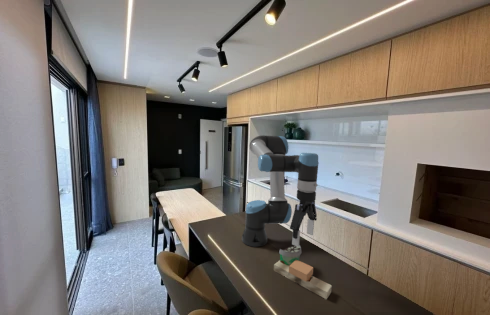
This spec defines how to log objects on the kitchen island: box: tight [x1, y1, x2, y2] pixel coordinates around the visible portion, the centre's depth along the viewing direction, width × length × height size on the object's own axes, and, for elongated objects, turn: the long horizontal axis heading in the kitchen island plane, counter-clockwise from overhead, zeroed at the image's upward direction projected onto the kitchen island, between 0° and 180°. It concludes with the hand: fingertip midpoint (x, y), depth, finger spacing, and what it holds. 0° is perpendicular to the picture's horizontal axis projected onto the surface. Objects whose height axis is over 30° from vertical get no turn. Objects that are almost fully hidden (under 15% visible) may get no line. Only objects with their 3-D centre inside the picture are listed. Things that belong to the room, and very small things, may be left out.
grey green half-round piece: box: [278, 244, 302, 265], centre depth 95 cm, size 12×6×10 cm, turn 123°
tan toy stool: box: [289, 260, 314, 281], centre depth 86 cm, size 8×6×6 cm
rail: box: [273, 259, 333, 300], centre depth 86 cm, size 24×5×3 cm, turn 48°
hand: (303, 239), depth 85 cm, fingers open, 13 cm apart
